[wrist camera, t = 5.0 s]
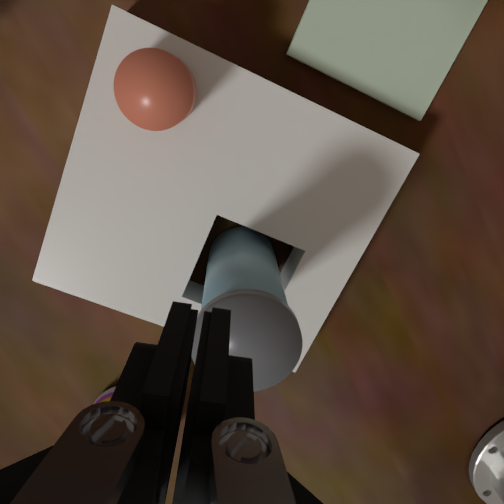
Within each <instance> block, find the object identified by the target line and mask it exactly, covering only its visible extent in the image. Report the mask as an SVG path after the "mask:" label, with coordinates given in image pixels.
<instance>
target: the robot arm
mask: <svg viewBox="0 0 504 504" xmlns="http://www.w3.org/2000/svg"><path fill="white" fill-rule="evenodd" d="M191 307H192V304H188V303H181V302H175V301H173V302H172V305H171V308H170V311H169V314H168V317H167V320H166V323H165V326H164V329H163V331H162V334H161V337H160V340H159V343H158V345H153V344H146V343H139V342H136V343H135V344H134V346H133V349H132V351H131V353H130V356H129V358H128V360H127V363H126V365H125V367H124V369H123V372H122V374H121V376H120V379H119V381H118V383H117V386H116V388H115V390H114V392H113V395H112V397H111V399H110V401H105V402H100V403H96V404H93V405H91V406H89V407H87V408H85V409H83V410H82V411H81V412H80V413H79V414H78V415H77V416H76V417H75V418H74V419H73V421H72V422H71V423H70V425H69V426H68V427H67V429H66V430H65V431H64V433H63V434H62V435H61V437H60V438H59V439H58V441H57V442H56V443H55V445H54V446H51V447H49V448H47V449H45V450H43V451H40V452H38V453H36V454H34V455H32V456H29V457H27V458H25V459H23V460H21V461H18V462H16V463H14V464H12V465H10V466H7V467H5V468H3V469H1V470H0V504H165V500H166V494H167V489H168V484H169V479H170V473H171V468H172V463H173V458H174V452H175V447H176V442H177V436H178V431H179V426H180V421H181V415H182V410H183V405H184V400H185V394H186V388H187V381H188V375H189V368H190V362H191V355H192V349H193V342H194V336H195V329H196V323H197V316H198V310H194V309H191ZM230 322H231V310H228V309H221V308H215V307H212V312H208V311H204V316H203V322H202V327H201V333H200V339H199V344H198V350H197V356H196V361H195V367H194V373H193V378H192V384H191V390H190V396H189V402H188V408H187V414H186V420H185V427H184V433H183V439H182V446H181V452H180V458H179V465H178V471H177V478H176V484H175V490H174V497H173V503H172V504H323V503H322V502H321V501H320V500H318V499H317V498H316V497H315V496H314V495H313V494H312V493H311V492H309V491H308V490H307V489H306V488H305V487H304V486H303V485H301V484H300V483H299V482H298V481H297V480H296V479H295V478H294V477H292V476H291V475H290V474H289V473H288V472H287V471H286V467H285V464H284V460H283V457H282V454H281V450H280V447H279V443H278V441H277V439H276V437H275V435H274V433H273V432H272V431H271V430H270V429H269V428H268V427H267V426H265V425H264V424H262V423H261V422H259V421H256V420H255V414H254V389H253V364H252V358H246V357H239V356H232V355H229V342H230ZM469 477H470V481H471V483H472V485H473V487H474V489H475V490H476V492H477V494H478V495H479V497H480V498H481V499H482V500H483V501H484V502H486V503H487V504H504V420H503V421H502V422H500V423H498V424H497V425H496V426H494V427H493V428H492V429H491V430H490V431H488V432H487V433H486V434H485V436H484V437H483V438H482V439H481V440H480V441H479V443H478V444H477V446H476V448H475V449H474V451H473V453H472V456H471V459H470V462H469Z"/></svg>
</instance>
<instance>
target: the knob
mask: <svg viewBox="0 0 504 504" xmlns="http://www.w3.org/2000/svg"><path fill="white" fill-rule="evenodd" d="M114 95H115V99H116V102H117V104H118V106H119V108H120V110H121V112H122V113H123V114H124V116H125V117H126V118H127V119H128V120H129V121H131V122H132V123H133V124H135V125H136V126H138V127H140V128H143V129H145V130H150V131H162V130H167V129H170V128H172V127H174V126H175V125H177V124H178V123H180V122H181V121H183V120H184V119H185V118H187V117H188V115H189V114H190V113H191V111H192V110H193V108H194V106H195V102H196V98H197V86H196V81H195V78H194V76H193V74H192V72H191V70H190V69H189V67H188V66H187V65H186V64H185V63H184V62H183V61H182V60H180V59H179V58H178V57H176V56H174V55H172V54H170V53H169V52H167V51H164V50H162V49H158V48H141V49H138V50H135V51H133V52H131V53H130V54H129V55H127V56H126V57H125V58H124V59H123V60H122V61H121V63H120V64H119V66H118V68H117V70H116V73H115V77H114Z"/></svg>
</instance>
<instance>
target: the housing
mask: <svg viewBox="0 0 504 504" xmlns="http://www.w3.org/2000/svg"><path fill="white" fill-rule="evenodd" d="M141 48H158V49H162V50H164V51H167V52H169V53H170V54H172V55H174V56H176V57H178V58H179V59H180V60H182V61H183V62H184V63H185V64H186V65H187V66H188V67H189V69H190V70H191V72H192V74H193V76H194V78H195V81H196V86H197V98H196V102H195V106H194V108H193V110H192V111H191V113H190V114H189V115H188V117H187V118H185V119H184V120H183V121H181V122H180V123H178V124H177V125H175V126H174V127H172V128H170V129H167V130H162V131H150V130H145V129H143V128H140V127H138V126H136V125H135V124H133V123H132V122H131V121H129V120H128V119H127V118H126V117H125V116H124V114H123V113H122V112H121V110H120V108H119V106H118V104H117V102H116V99H115V95H114V77H115V73H116V70H117V68H118V66H119V64H120V63H121V61H122V60H123V59H124V58H125V57H126V56H127V55H129V54H130V53H131V52H133V51H135V50H138V49H141ZM418 156H419V153H417V152H415V151H413V150H411V149H409V148H407V147H405V146H403V145H400V144H398V143H396V142H394V141H392V140H390V139H388V138H386V137H384V136H382V135H380V134H378V133H376V132H374V131H372V130H370V129H367V128H365V127H363V126H361V125H359V124H357V123H355V122H353V121H351V120H349V119H347V118H345V117H343V116H341V115H339V114H336V113H334V112H332V111H330V110H328V109H326V108H324V107H322V106H320V105H318V104H316V103H314V102H312V101H310V100H308V99H306V98H303V97H301V96H299V95H297V94H295V93H293V92H291V91H289V90H287V89H285V88H283V87H281V86H279V85H277V84H275V83H273V82H270V81H268V80H266V79H264V78H262V77H260V76H258V75H256V74H254V73H252V72H250V71H248V70H246V69H244V68H242V67H239V66H237V65H235V64H233V63H231V62H229V61H227V60H225V59H223V58H221V57H219V56H217V55H215V54H213V53H211V52H209V51H206V50H204V49H202V48H200V47H198V46H196V45H194V44H192V43H190V42H188V41H186V40H184V39H182V38H180V37H178V36H176V35H173V34H171V33H169V32H167V31H165V30H163V29H161V28H159V27H157V26H155V25H153V24H151V23H149V22H147V21H145V20H142V19H140V18H138V17H136V16H134V15H132V14H130V13H128V12H126V11H124V10H122V9H120V8H118V7H116V6H114V5H112V6H111V9H110V13H109V16H108V20H107V23H106V27H105V30H104V34H103V37H102V41H101V44H100V48H99V51H98V54H97V58H96V61H95V65H94V68H93V72H92V75H91V79H90V82H89V86H88V89H87V93H86V96H85V99H84V103H83V106H82V110H81V113H80V117H79V120H78V124H77V127H76V131H75V134H74V138H73V141H72V144H71V148H70V151H69V155H68V158H67V162H66V165H65V169H64V172H63V176H62V179H61V183H60V186H59V189H58V193H57V196H56V200H55V203H54V207H53V210H52V214H51V217H50V221H49V224H48V228H47V231H46V234H45V238H44V241H43V245H42V248H41V252H40V255H39V259H38V262H37V266H36V269H35V273H34V276H33V280H32V281H34V282H37V283H40V284H43V285H46V286H49V287H52V288H54V289H57V290H60V291H63V292H66V293H69V294H72V295H75V296H77V297H80V298H83V299H86V300H89V301H92V302H95V303H97V304H100V305H103V306H106V307H109V308H112V309H115V310H118V311H120V312H123V313H126V314H129V315H132V316H135V317H138V318H140V319H143V320H146V321H149V322H152V323H155V324H158V325H161V326H163V327H164V326H165V323H166V320H167V317H168V314H169V311H170V308H171V305H172V302H173V301H175V302H181V303H188V304H192V307H191V309H194V310H198V314H199V312H200V311H201V306H202V299H203V292H204V285H201V284H199V283H196V282H193V281H191V280H189V279H190V276H191V274H192V272H193V269H194V267H195V265H196V262H197V260H198V258H199V255H200V253H201V251H202V248H203V246H204V244H205V241H206V239H207V237H208V234H209V232H210V230H211V227H212V225H213V223H214V220H215V218H216V216H217V215H219V216H221V217H224V218H226V219H228V220H231V221H233V222H236V223H238V224H241V225H243V226H246V227H248V228H250V229H253V230H255V231H258V232H260V233H263V234H265V235H268V236H270V237H272V238H275V239H277V240H280V241H282V242H285V243H287V244H289V245H292V246H294V247H293V249H292V251H291V253H290V255H289V257H288V259H287V261H286V263H285V265H284V267H283V269H282V271H281V273H280V276H281V280H282V284H283V288H284V292H285V296H286V300H287V304H288V306H289V307H290V308H291V310H292V311H293V312H294V314H295V316H296V318H297V320H298V323H299V327H300V330H301V334H302V353H301V356H300V359H299V361H298V363H297V365H296V366H295V368H294V370H293V371H292V372H296V370H297V368H298V367H299V365H300V363H301V361H302V360H303V358H304V356H305V354H306V353H307V351H308V349H309V347H310V346H311V344H312V342H313V340H314V339H315V337H316V335H317V333H318V332H319V330H320V328H321V326H322V325H323V323H324V321H325V319H326V318H327V316H328V314H329V312H330V311H331V309H332V307H333V305H334V304H335V302H336V300H337V298H338V297H339V295H340V293H341V291H342V289H343V288H344V286H345V284H346V282H347V281H348V279H349V277H350V275H351V274H352V272H353V270H354V268H355V267H356V265H357V263H358V261H359V260H360V258H361V256H362V254H363V253H364V251H365V249H366V247H367V246H368V244H369V242H370V240H371V239H372V237H373V235H374V233H375V232H376V230H377V228H378V226H379V225H380V223H381V221H382V219H383V218H384V216H385V214H386V212H387V211H388V209H389V207H390V205H391V204H392V202H393V200H394V198H395V197H396V195H397V193H398V191H399V190H400V188H401V186H402V184H403V182H404V181H405V179H406V177H407V175H408V174H409V172H410V170H411V168H412V167H413V165H414V163H415V161H416V160H417V158H418Z"/></svg>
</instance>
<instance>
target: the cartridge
mask: <svg viewBox="0 0 504 504" xmlns="http://www.w3.org/2000/svg"><path fill="white" fill-rule="evenodd" d="M212 307H215V308H221V309H228V310H231V322H230V342H229V355H232V356H239V357H246V358H252V364H253V389H254V392H255V391H260V390H264V389H267V388H270V387H272V386H274V385H276V384H278V383H279V382H281V381H282V380H284V379H285V378H286V377H287V376H288V375H289V374H290V373H291V372H292V371H293V370H294V368H295V366H296V365H297V363H298V361H299V359H300V356H301V353H302V334H301V330H300V327H299V323H298V320H297V318H296V316H295V314H294V312H293V311H292V310H291V308H290V307H289V306H288V304H287V300H286V296H285V292H284V288H283V284H282V280H281V276H280V272H279V268H278V264H277V260H276V256H275V253H274V249H273V246H272V244H271V242H270V240H269V239H268V238H267V237H266V236H265V235H264V234H263V233H260V232H258V231H255V230H253V229H250V228H248V227H243V226H241V227H233V228H230V229H228V230H226V231H224V232H222V233H221V234H220V235H218V236H217V238H216V239H215V240H214V241H213V243H212V245H211V248H210V251H209V257H208V264H207V271H206V278H205V285H204V292H203V299H202V306H201V311H200V312H199V314H198V316H197V323H196V329H195V336H194V342H193V349H192V355H191V356H192V359H193V362H194V364H195V361H196V356H197V350H198V344H199V339H200V333H201V327H202V322H203V316H204V311H208V312H212Z"/></svg>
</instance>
